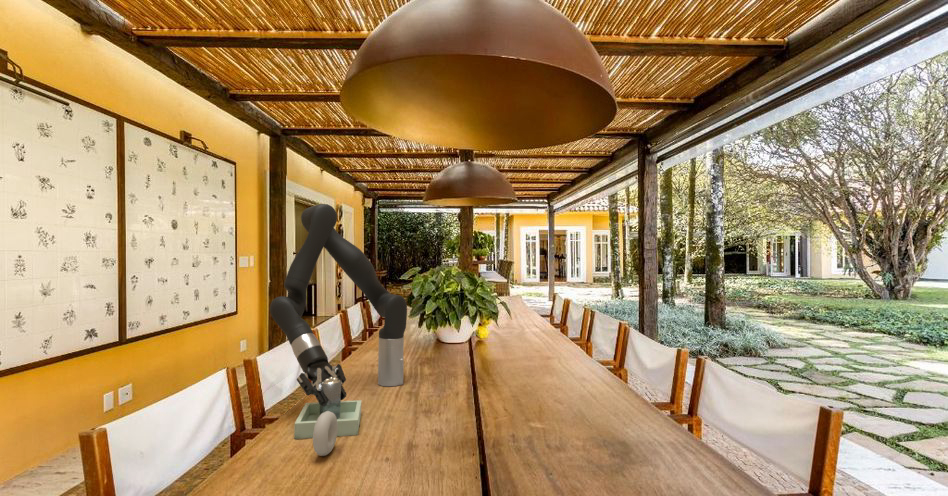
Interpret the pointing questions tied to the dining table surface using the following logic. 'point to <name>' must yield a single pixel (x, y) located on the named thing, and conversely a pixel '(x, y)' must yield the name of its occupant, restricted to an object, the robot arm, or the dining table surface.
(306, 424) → the pale green shallow tray
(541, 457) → the dining table surface
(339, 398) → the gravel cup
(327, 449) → the donut
